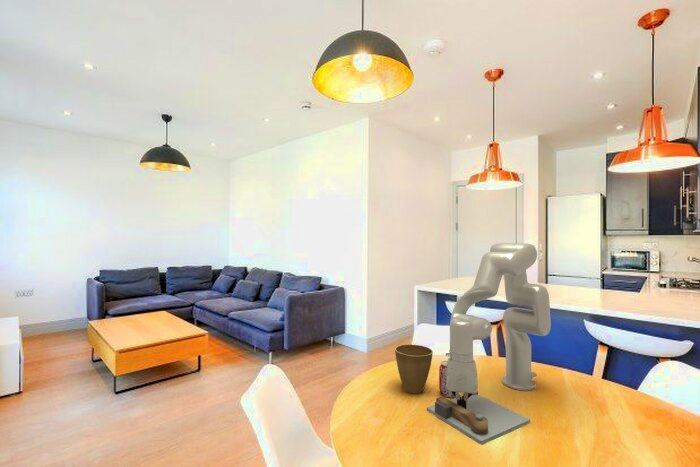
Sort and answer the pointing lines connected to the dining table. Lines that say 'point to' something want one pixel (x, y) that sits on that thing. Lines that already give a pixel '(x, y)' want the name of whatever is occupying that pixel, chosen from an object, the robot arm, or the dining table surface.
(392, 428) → the dining table surface
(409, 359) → the plant pot
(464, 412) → the lever
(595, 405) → the dining table surface
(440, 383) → the soda can
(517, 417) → the jig board
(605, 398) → the dining table surface
